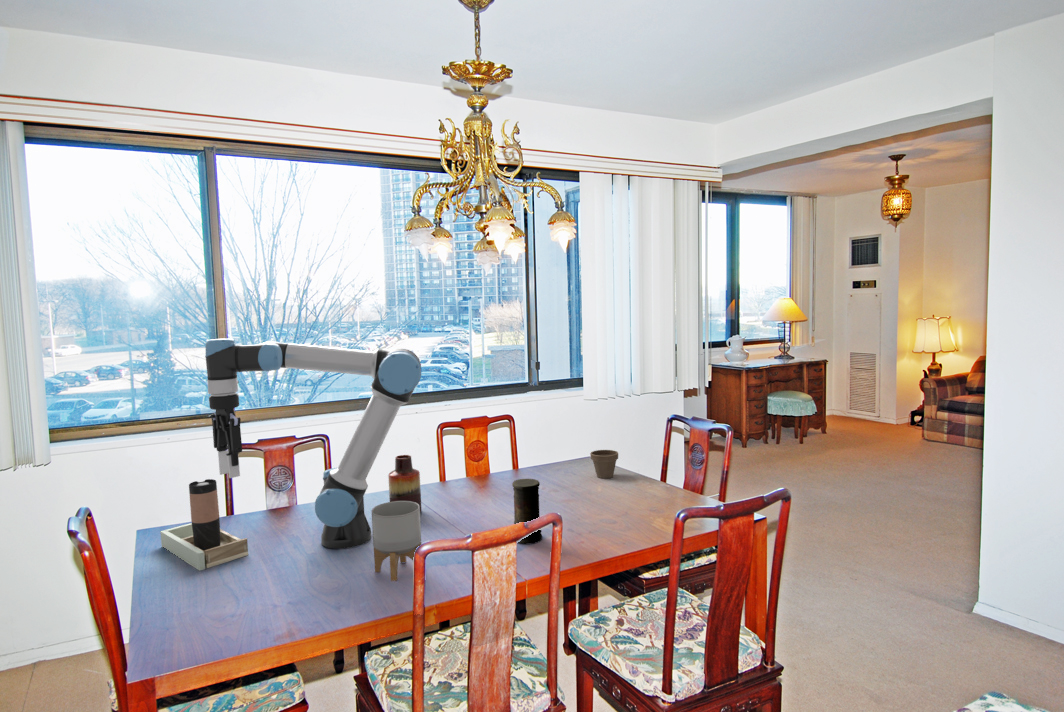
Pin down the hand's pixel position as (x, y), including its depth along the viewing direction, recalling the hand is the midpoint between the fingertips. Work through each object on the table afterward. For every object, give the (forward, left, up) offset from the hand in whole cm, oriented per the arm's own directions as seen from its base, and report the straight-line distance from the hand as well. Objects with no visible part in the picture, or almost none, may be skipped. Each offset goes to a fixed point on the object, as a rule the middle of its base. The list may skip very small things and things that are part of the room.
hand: (229, 475), depth 183 cm
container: (-53, -66, -27) cm, 89 cm away
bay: (+20, 0, -27) cm, 33 cm away
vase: (-3, -58, -27) cm, 64 cm away
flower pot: (-33, -136, -27) cm, 143 cm away
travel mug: (+20, 0, -26) cm, 32 cm away
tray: (+16, 0, -27) cm, 31 cm away
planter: (-40, -27, -27) cm, 55 cm away
